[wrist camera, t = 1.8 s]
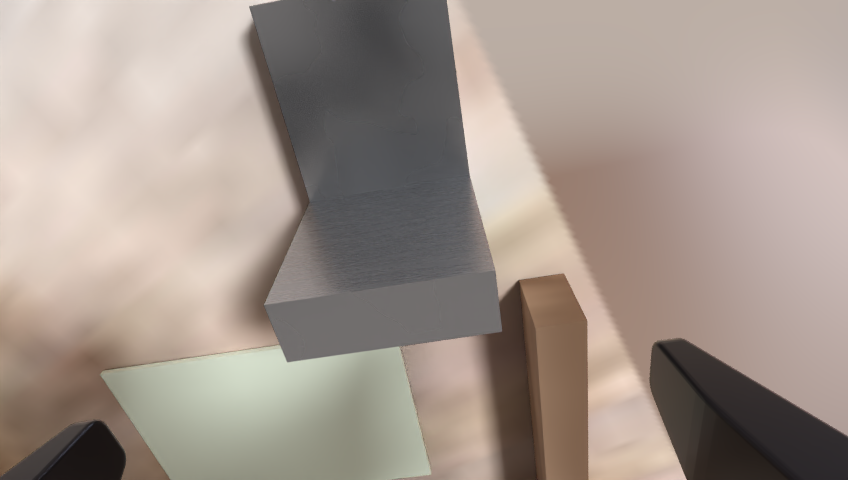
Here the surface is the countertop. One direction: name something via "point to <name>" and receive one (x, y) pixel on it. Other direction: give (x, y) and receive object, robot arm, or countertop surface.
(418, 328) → the bracket
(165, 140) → the countertop surface
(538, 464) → the brown chevron piece
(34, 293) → the countertop surface
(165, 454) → the mat
